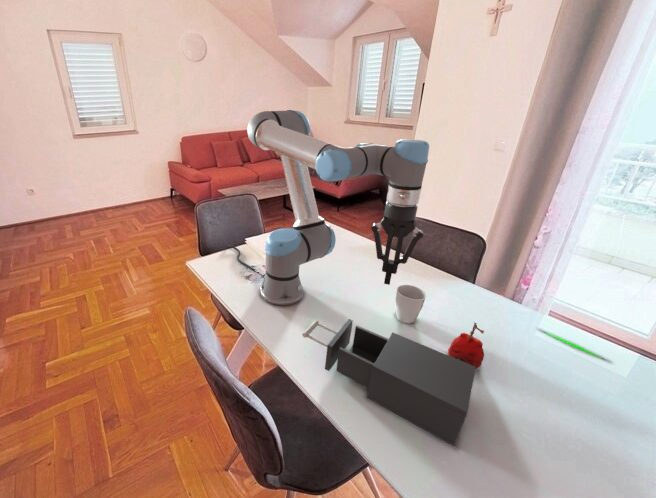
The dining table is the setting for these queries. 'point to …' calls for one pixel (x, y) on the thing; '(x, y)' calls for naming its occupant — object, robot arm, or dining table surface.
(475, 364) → the red fruit with stem
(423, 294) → the cup
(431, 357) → the grey storage cabinet
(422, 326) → the dining table surface
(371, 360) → the drawer
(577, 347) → the leaf
